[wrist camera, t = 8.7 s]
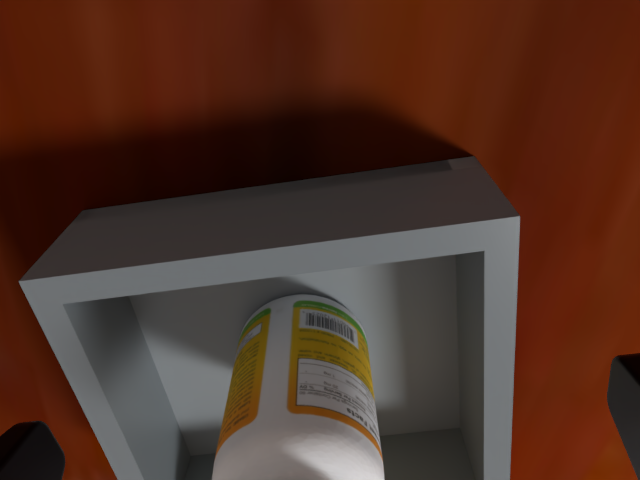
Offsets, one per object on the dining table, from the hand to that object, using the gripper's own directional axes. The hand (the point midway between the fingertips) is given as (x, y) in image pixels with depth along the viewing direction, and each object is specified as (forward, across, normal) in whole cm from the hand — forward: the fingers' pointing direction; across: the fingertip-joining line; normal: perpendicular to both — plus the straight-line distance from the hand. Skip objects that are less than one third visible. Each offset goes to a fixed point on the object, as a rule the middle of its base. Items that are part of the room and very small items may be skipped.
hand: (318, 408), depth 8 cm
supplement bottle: (+12, +2, +8) cm, 14 cm away
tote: (+12, +2, +8) cm, 15 cm away
